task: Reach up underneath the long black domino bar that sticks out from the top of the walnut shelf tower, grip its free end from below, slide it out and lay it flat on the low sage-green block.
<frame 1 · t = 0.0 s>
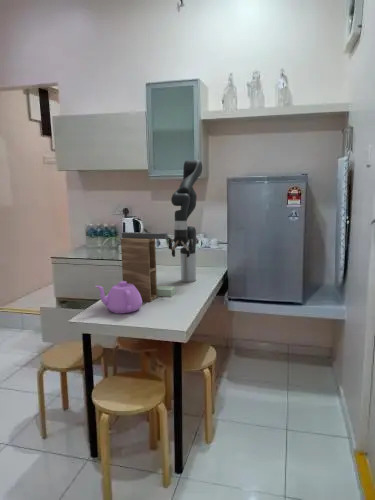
hand: (180, 256, 224), 17 cm above the table, tool pointing down, fingers open, 8 cm apart
domino bar: (144, 238, 197), point 32 cm above the table, touching shelf tower
shelf tower: (140, 298, 204), on the table
teapot: (119, 310, 186), on the table
green block: (159, 293, 212), on the table
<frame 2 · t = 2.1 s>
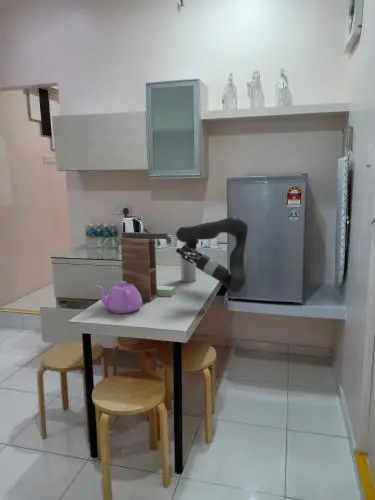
hand: (179, 248, 192), 28 cm above the table, tool pointing upward, fingers open, 8 cm apart
nothing on the table moved.
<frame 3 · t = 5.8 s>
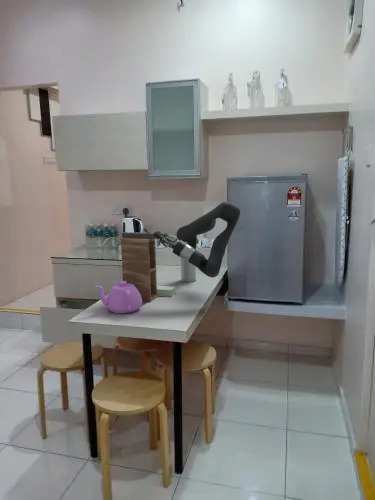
hand: (155, 233, 195), 35 cm above the table, tool pointing upward, fingers closed on domino bar, 2 cm apart
domino bar: (144, 238, 197), point 32 cm above the table, touching gripper, shelf tower
everything else where it was.
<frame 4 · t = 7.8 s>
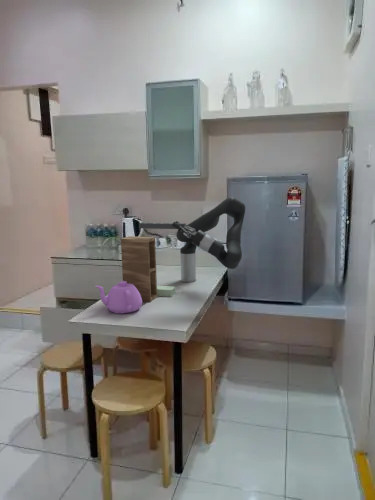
hand: (174, 223, 191), 40 cm above the table, tool pointing upward, fingers closed on domino bar, 2 cm apart
domino bar: (162, 228, 194), point 37 cm above the table, touching gripper
everything else where it was.
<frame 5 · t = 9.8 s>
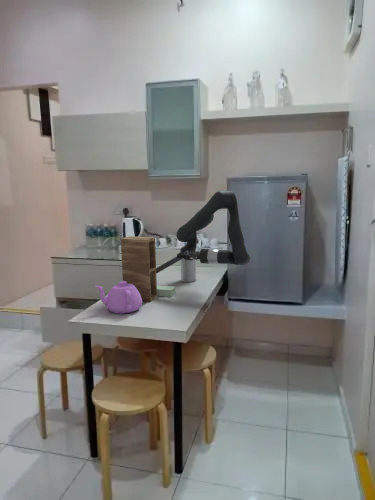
hand: (178, 255, 204), 22 cm above the table, tool horizontal, fingers closed on domino bar, 2 cm apart
domino bar: (171, 265, 207), point 16 cm above the table, tilted 30°, touching gripper
everything else where it was.
when the fingers open (7 cm above the table, at t = 13.0 s): domino bar drops 1 cm, resting on green block.
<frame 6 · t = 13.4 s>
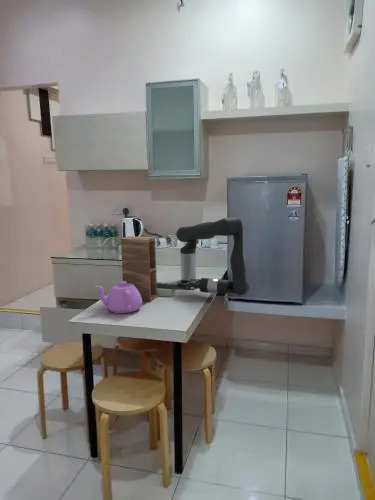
hand: (179, 283, 207), 7 cm above the table, tool horizontal, fingers open, 6 cm apart
domino bar: (169, 288, 209), point 3 cm above the table, touching green block
everything else where it was.
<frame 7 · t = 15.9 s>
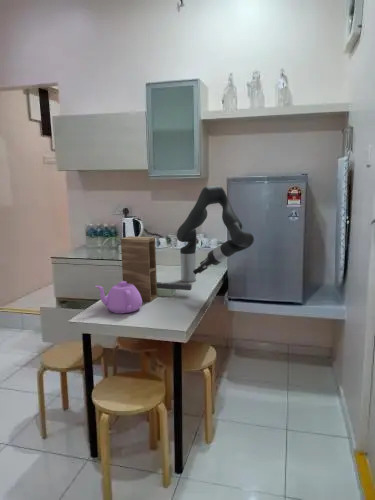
hand: (197, 268, 203), 15 cm above the table, tool tilted 55°, fingers open, 8 cm apart
nothing on the table moved.
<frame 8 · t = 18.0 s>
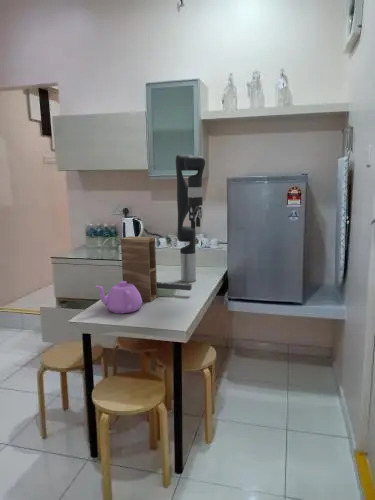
hand: (195, 227, 202), 36 cm above the table, tool pointing down, fingers open, 8 cm apart
nothing on the table moved.
at the end: domino bar inside the target area (0.8 cm from its centre), point 3.5 cm above the table; domino bar touching green block; the gripper is holding nothing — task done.
